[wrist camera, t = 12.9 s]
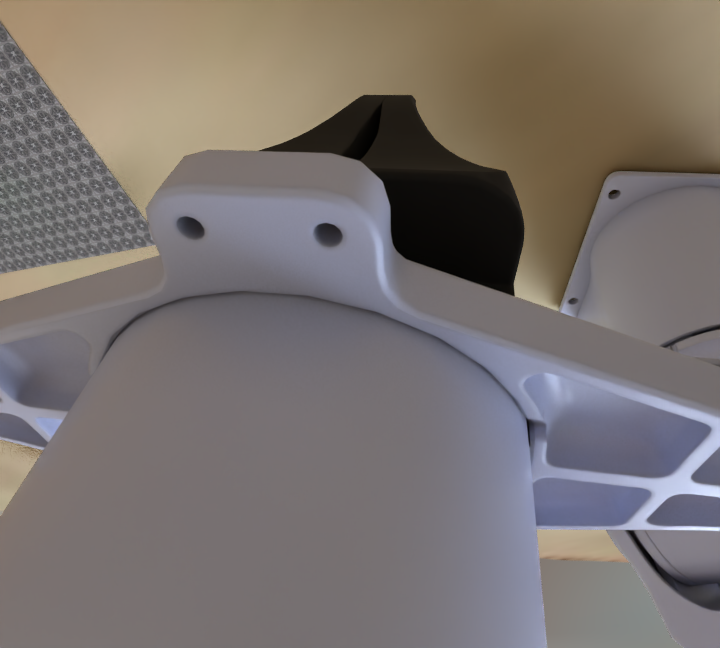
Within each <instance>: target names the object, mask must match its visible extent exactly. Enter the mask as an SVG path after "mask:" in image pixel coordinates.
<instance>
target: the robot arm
mask: <svg viewBox="0 0 720 648" xmlns="http://www.w3.org/2000/svg"><path fill="white" fill-rule="evenodd" d="M612 190H618V192H617V193H615V194H613V195H609V192H610V191H612ZM146 214H147V220H148V227H149V232H150V234H151V237H152V239H153V241H154V243H155V245H156V247H157V250H158V252H159V254H160V255H159V256H156V257H152V258H149V259H145V260H142V261H138V262H135V263H131V264H128V265H124V266H121V267H117V268H114V269H110V270H107V271H104V272H100V273H97V274H93V275H90V276H86V277H83V278H79V279H76V280H72V281H69V282H65V283H62V284H58V285H55V286H51V287H48V288H44V289H41V290H38V291H34V292H31V293H27V294H24V295H20V296H17V297H13V298H10V299H6V300H3V301H0V439H1V440H5V441H9V442H13V443H17V444H21V445H25V446H29V447H32V448H36V449H40V450H43V452H42V453H41V455H40V456H39V458H38V459H37V461H36V462H35V464H34V466H33V467H32V469H31V470H30V472H29V473H28V475H27V476H26V478H25V479H24V481H23V482H22V484H21V485H20V487H19V489H18V490H17V492H16V493H15V495H14V496H13V498H12V499H11V501H10V502H9V504H8V505H7V507H6V508H5V510H4V511H3V513H2V515H1V516H0V648H547V641H546V629H545V619H544V607H543V597H542V584H541V573H540V562H539V551H538V539H537V529H569V530H606V531H607V533H608V534H609V536H610V538H611V539H612V541H613V542H614V544H615V545H616V547H617V548H618V549H619V551H620V552H621V553H622V554H623V556H624V557H625V558H626V559H627V560H628V561H629V563H630V564H631V565H632V567H633V568H634V570H635V571H636V573H637V574H638V576H639V578H640V579H641V581H642V583H643V584H644V586H645V588H646V589H647V591H648V593H649V595H650V597H651V598H652V600H653V602H654V604H655V606H656V608H657V610H658V612H659V614H660V616H661V618H662V619H663V621H664V623H665V625H666V628H667V630H668V632H669V634H670V636H671V638H673V639H674V640H675V641H676V642H677V643H678V644H680V645H681V646H683V647H684V648H720V174H701V173H668V172H634V171H617V172H614V173H611V174H610V175H609V176H608V177H607V178H606V180H605V182H604V185H603V187H602V190H601V193H600V196H599V199H598V201H597V204H596V207H595V210H594V213H593V215H592V218H591V221H590V224H589V227H588V229H587V232H586V235H585V238H584V241H583V243H582V246H581V249H580V252H579V255H578V257H577V260H576V263H575V266H574V269H573V271H572V274H571V277H570V280H569V283H568V285H567V288H566V291H565V294H564V297H563V299H562V302H561V305H560V308H559V312H558V311H556V310H553V309H550V308H547V307H544V306H541V305H538V304H535V303H532V302H529V301H526V300H524V299H521V298H518V297H515V295H514V280H515V276H516V272H517V268H518V264H519V259H520V255H521V251H522V247H523V242H524V221H523V216H522V211H521V208H520V204H519V201H518V198H517V196H516V193H515V190H514V188H513V185H512V183H511V181H510V179H509V176H508V174H507V173H506V171H502V170H497V169H492V168H487V167H483V166H479V165H477V164H474V163H471V162H469V161H466V160H464V159H462V158H460V157H458V156H457V155H455V154H453V153H452V152H450V151H449V150H447V149H446V148H444V147H443V146H442V145H441V144H440V143H439V142H438V141H437V140H435V138H434V137H433V136H432V134H431V133H430V132H429V130H428V129H427V127H426V126H425V124H424V122H423V121H422V119H421V117H420V115H419V113H418V110H417V108H416V100H415V99H414V98H413V96H412V95H363V96H361V97H359V98H358V99H356V100H355V101H353V102H352V103H351V104H349V105H348V106H347V107H345V108H344V109H342V110H341V111H340V112H338V113H337V114H335V115H334V116H333V117H331V118H329V119H328V120H326V121H325V122H323V123H321V124H320V125H318V126H316V127H315V128H313V129H312V130H310V131H308V132H306V133H304V134H302V135H300V136H298V137H296V138H293V139H291V140H289V141H287V142H284V143H281V144H278V145H275V146H272V147H269V148H266V149H263V150H259V151H234V150H206V151H202V152H198V153H195V154H191V155H187V156H184V157H183V159H182V160H181V161H180V162H179V164H178V165H177V166H176V167H175V169H174V170H173V171H172V172H171V174H170V175H169V176H168V177H167V179H166V180H165V181H164V183H163V184H162V185H161V186H160V188H159V189H158V190H157V192H156V193H155V195H154V196H153V198H152V199H151V201H150V202H149V204H148V205H147V207H146ZM572 298H576V299H574V300H570V299H572Z"/></svg>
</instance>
